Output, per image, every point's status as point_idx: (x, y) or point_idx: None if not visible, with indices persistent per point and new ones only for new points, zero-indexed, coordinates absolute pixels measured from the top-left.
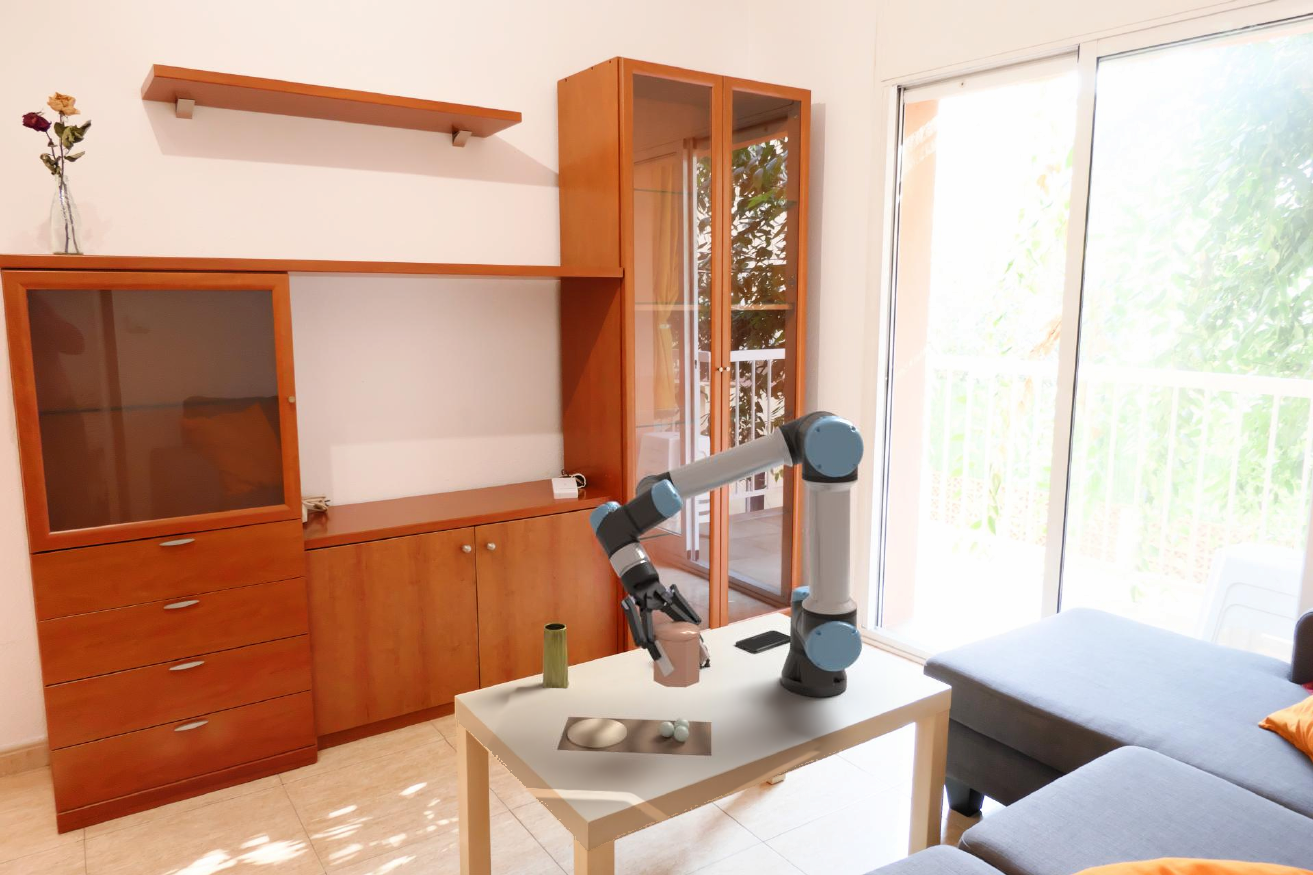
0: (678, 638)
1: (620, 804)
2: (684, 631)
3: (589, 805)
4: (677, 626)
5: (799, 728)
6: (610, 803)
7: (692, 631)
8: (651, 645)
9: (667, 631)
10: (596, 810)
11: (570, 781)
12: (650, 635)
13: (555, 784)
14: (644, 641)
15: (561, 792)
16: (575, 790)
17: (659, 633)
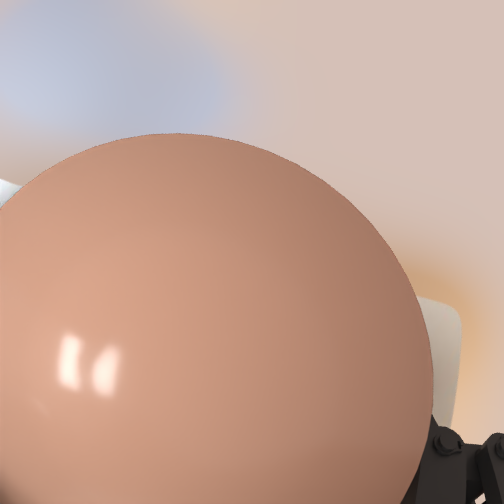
0: (348, 209)
1: (422, 307)
2: (154, 257)
3: (449, 336)
4: (64, 429)
5: None
6: (429, 319)
7: (109, 193)
8: (430, 421)
9: (299, 429)
10: (448, 319)
11: (434, 408)
12: (448, 471)
13: (449, 414)
14: (475, 448)
15: (455, 390)
16: (442, 382)
17: (403, 441)
